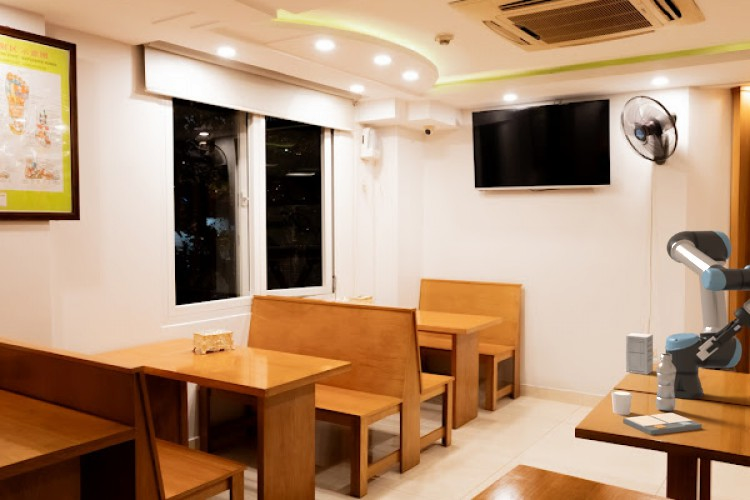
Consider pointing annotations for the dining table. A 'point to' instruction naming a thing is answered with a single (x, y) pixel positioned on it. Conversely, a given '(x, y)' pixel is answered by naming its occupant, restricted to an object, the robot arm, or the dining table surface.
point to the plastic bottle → (665, 383)
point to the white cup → (621, 402)
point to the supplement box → (639, 353)
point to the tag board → (662, 423)
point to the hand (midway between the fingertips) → (700, 354)
